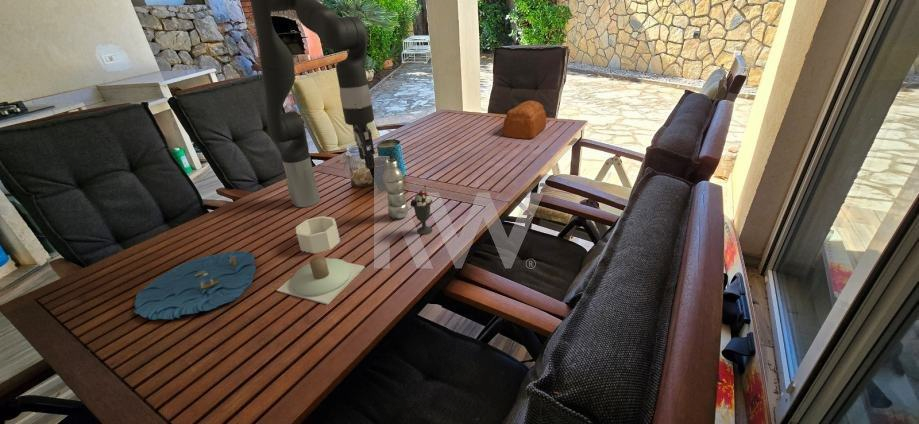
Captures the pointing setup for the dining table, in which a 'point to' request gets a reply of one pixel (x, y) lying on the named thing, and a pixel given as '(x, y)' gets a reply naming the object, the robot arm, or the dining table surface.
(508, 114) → the bread
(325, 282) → the lid
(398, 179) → the plastic bottle
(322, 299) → the mat
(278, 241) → the dining table surface
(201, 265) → the decorative plate
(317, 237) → the bowl
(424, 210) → the sundae
